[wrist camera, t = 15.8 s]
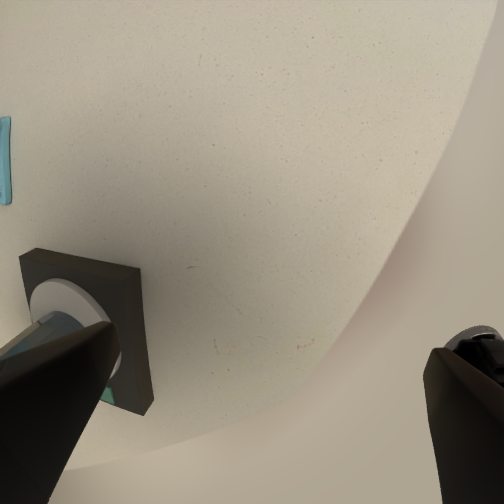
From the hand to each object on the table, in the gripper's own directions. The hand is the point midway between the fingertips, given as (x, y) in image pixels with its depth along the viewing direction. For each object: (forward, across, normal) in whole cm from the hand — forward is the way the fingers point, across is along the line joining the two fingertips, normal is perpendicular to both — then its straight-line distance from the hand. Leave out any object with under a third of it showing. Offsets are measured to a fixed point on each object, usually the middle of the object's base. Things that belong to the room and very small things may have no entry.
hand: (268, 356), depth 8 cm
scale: (+14, +18, +11) cm, 25 cm away
